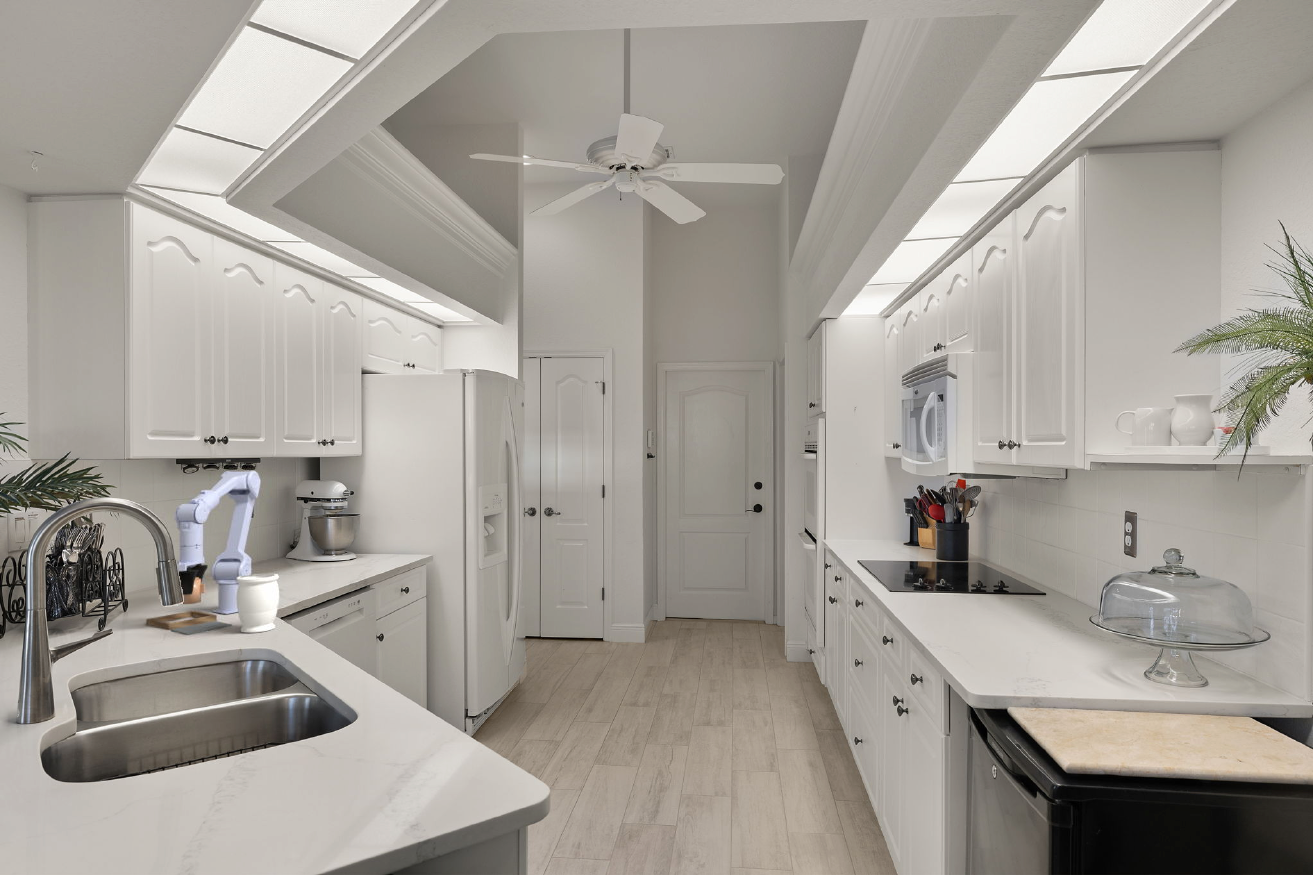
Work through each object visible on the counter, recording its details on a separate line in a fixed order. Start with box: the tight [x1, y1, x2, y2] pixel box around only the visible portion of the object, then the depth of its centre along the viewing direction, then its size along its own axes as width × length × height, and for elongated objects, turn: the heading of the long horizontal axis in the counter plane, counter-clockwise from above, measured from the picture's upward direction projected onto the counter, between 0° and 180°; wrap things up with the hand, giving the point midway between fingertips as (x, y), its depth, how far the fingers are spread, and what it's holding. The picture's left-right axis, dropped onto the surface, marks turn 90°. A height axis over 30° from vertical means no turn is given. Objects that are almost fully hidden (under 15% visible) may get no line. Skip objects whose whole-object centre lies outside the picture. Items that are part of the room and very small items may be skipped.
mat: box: [170, 620, 233, 636], centre depth 209 cm, size 12×9×1 cm
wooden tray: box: [145, 610, 218, 631], centre depth 216 cm, size 13×13×2 cm
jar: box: [237, 573, 280, 634], centre depth 206 cm, size 11×10×15 cm
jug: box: [182, 577, 206, 605], centre depth 213 cm, size 6×5×7 cm
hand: (191, 592), depth 213 cm, fingers closed on jug, 5 cm apart
